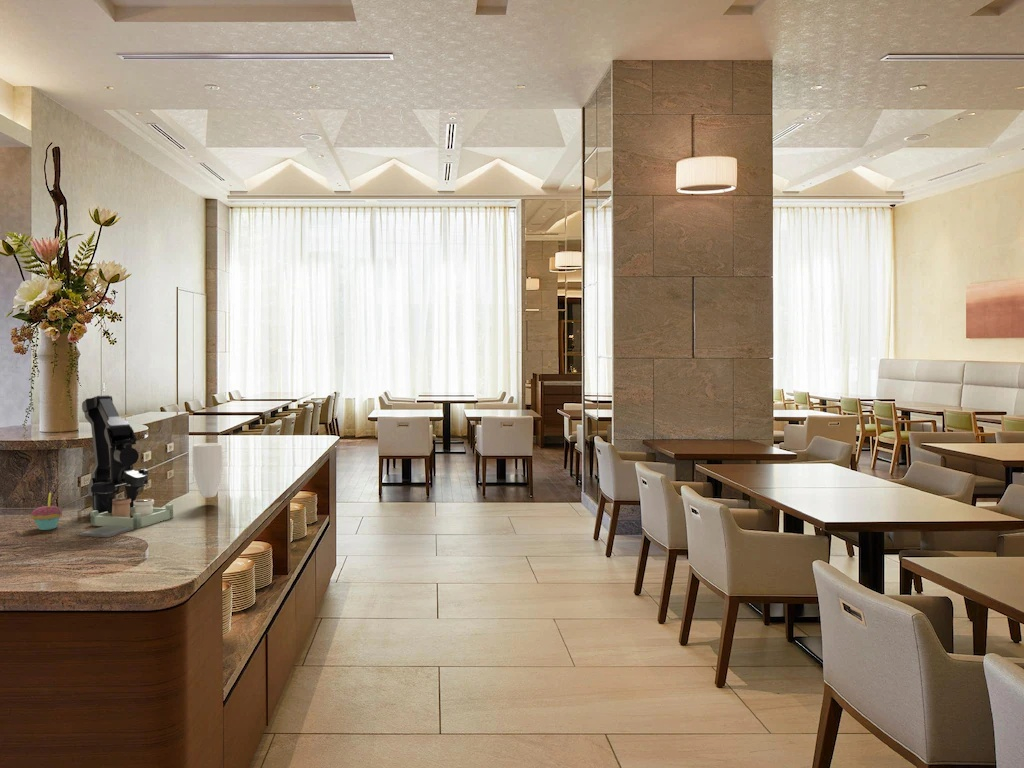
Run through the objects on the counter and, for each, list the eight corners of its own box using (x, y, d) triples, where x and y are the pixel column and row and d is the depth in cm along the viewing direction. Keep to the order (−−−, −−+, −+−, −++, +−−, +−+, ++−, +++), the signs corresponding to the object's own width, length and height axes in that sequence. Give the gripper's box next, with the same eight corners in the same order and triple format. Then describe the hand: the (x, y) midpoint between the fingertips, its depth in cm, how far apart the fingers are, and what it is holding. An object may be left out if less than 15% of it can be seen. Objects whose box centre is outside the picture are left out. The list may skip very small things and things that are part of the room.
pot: (129, 523, 253) (129, 501, 253) (143, 519, 259) (142, 498, 259) (145, 524, 251) (144, 502, 251) (158, 520, 257) (158, 499, 257)
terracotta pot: (106, 522, 256) (106, 500, 255) (120, 518, 261) (120, 496, 261) (122, 523, 254) (121, 501, 254) (135, 519, 260) (135, 497, 259)
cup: (186, 506, 281) (185, 445, 280) (208, 500, 290) (206, 442, 289) (209, 508, 277) (208, 446, 276) (230, 502, 286) (229, 443, 285)
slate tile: (80, 535, 238) (80, 532, 238) (106, 528, 247) (106, 525, 247) (107, 537, 235) (107, 534, 235) (132, 529, 244) (132, 527, 244)
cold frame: (90, 525, 251) (90, 511, 251) (128, 514, 267) (128, 501, 266) (137, 528, 246) (137, 514, 246) (173, 517, 262) (172, 504, 261)
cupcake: (69, 526, 250) (67, 488, 249) (45, 532, 242) (43, 493, 241) (48, 524, 253) (47, 487, 252) (24, 530, 245) (23, 491, 244)
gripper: (117, 467, 246) (119, 517, 246) (160, 459, 263) (162, 505, 264) (88, 466, 249) (90, 515, 250) (133, 458, 267) (134, 504, 267)
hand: (121, 510), depth 258 cm, fingers open, 9 cm apart
